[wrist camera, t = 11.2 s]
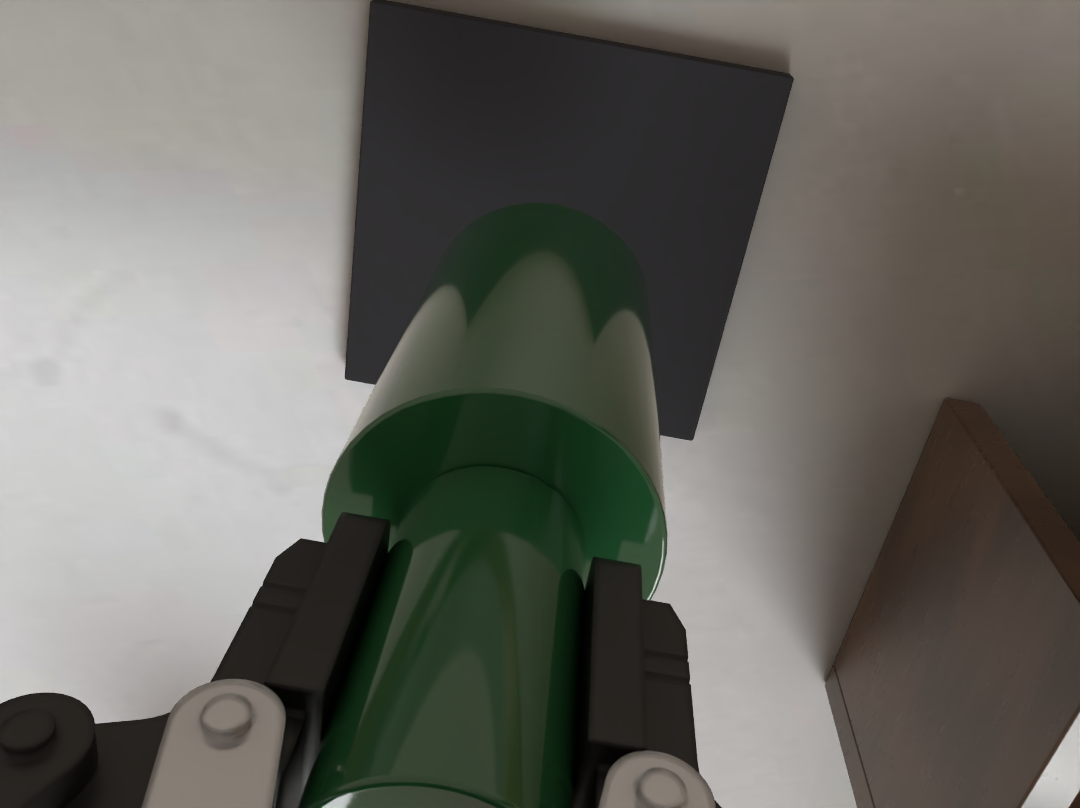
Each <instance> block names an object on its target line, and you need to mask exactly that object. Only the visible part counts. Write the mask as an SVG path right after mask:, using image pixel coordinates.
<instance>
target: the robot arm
mask: <svg viewBox="0 0 1080 808" xmlns="http://www.w3.org/2000/svg"><path fill="white" fill-rule="evenodd" d="M390 526H391V525H390V520H387V519H382V518H376V517H370V516H364V515H359V514H353V513H347V512H342V513H341V514H340V516H339V518H338V520H337V523H336V525H335V527H334V529H333V531H332V534H331V536H330V538H329V540H328V542H327V543H324V542H318V541H313V540H307V539H300V540H298V541H297V542H296V543H294V544H293V545H292V546H290V547H289V548H288V549H286V550H285V551H284V552H282V553H281V554H280V555H279V556H277V557H276V558H275V560H274V562H273V564H272V566H271V568H270V570H269V572H268V574H267V576H266V578H265V579H264V581H263V586H262V587H260V589H259V591H258V593H257V595H256V597H255V599H254V600H253V604H252V607H250V608H249V610H248V612H247V614H246V616H245V618H244V620H243V621H242V623H241V625H240V627H239V629H238V631H237V633H236V635H235V637H234V639H233V641H232V642H231V644H230V646H229V648H228V650H227V652H226V654H225V656H224V658H223V660H222V662H221V663H220V665H219V667H218V669H217V671H216V673H215V675H214V677H213V679H212V680H211V682H210V683H207V684H204V685H202V686H199V687H197V688H196V689H194V690H192V691H190V692H189V693H188V694H186V695H185V696H184V697H182V698H181V699H180V701H179V702H178V703H177V704H176V705H175V706H174V708H173V709H172V711H171V712H170V713H167V714H165V715H161V716H157V717H154V718H148V719H142V720H132V721H121V722H111V723H100V724H95V722H94V718H93V715H92V713H91V711H90V710H89V709H88V707H87V706H86V705H85V704H83V703H82V702H81V701H79V700H77V699H75V698H73V697H71V696H67V695H64V694H58V693H35V694H28V695H24V696H19V697H16V698H13V699H10V700H8V701H6V702H3V703H1V704H0V808H297V807H298V804H299V801H300V798H301V795H302V793H303V790H304V787H305V784H306V781H307V779H308V776H309V773H310V770H311V767H312V765H313V762H314V759H315V756H316V753H317V751H318V748H319V745H320V742H321V740H322V737H323V734H324V731H325V728H326V726H327V723H328V720H329V717H330V714H331V712H332V709H333V706H334V703H335V700H336V698H337V695H338V692H339V689H340V686H341V684H342V681H343V678H344V675H345V672H346V670H347V667H348V664H349V661H350V658H351V656H352V653H353V650H354V647H355V645H356V642H357V639H358V636H359V633H360V631H361V628H362V625H363V622H364V619H365V617H366V614H367V611H368V608H369V605H370V603H371V600H372V597H373V594H374V591H375V589H376V586H377V583H378V580H379V577H380V575H381V572H382V569H383V566H384V563H385V561H386V558H387V555H388V548H389V538H390ZM687 660H688V650H687V639H686V630H685V628H684V626H683V625H682V623H681V621H680V620H679V618H678V616H677V615H676V613H675V611H674V610H673V608H672V607H671V605H670V604H668V603H662V602H656V601H651V600H645V599H642V570H641V565H640V564H634V563H628V562H623V561H617V560H611V559H606V558H600V557H593V559H592V562H591V566H590V570H589V574H588V578H587V582H586V587H585V593H584V612H583V631H582V650H581V670H580V689H579V708H578V727H577V747H576V766H575V785H574V808H722V807H720V806H719V804H718V803H717V802H716V801H715V800H714V797H713V794H712V792H711V789H710V788H709V786H708V784H707V782H706V781H705V780H704V779H703V777H702V776H701V775H700V773H699V768H698V762H697V750H696V739H695V728H694V717H693V706H692V695H691V684H689V681H690V673H689V662H687Z"/></svg>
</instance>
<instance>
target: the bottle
mask: <svg viewBox="0 0 1080 808" xmlns="http://www.w3.org/2000/svg"><path fill="white" fill-rule="evenodd" d="M342 512H347V513H353V514H359V515H364V516H370V517H376V518H382V519H387V520H390V525H391V526H390V538H389V548H388V555H387V558H386V561H385V563H384V566H383V569H382V572H381V575H380V577H379V580H378V583H377V586H376V589H375V591H374V594H373V597H372V600H371V603H370V605H369V608H368V611H367V614H366V617H365V619H364V622H363V625H362V628H361V631H360V633H359V636H358V639H357V642H356V645H355V647H354V650H353V653H352V656H351V658H350V661H349V664H348V667H347V670H346V672H345V675H344V678H343V681H342V684H341V686H340V689H339V692H338V695H337V698H336V700H335V703H334V706H333V709H332V712H331V714H330V717H329V720H328V723H327V726H326V728H325V731H324V734H323V737H322V740H321V742H320V745H319V748H318V751H317V753H316V756H315V759H314V762H313V765H312V767H311V770H310V773H309V776H308V779H307V781H306V784H305V787H304V790H303V793H302V795H301V798H300V801H299V804H298V807H297V808H574V785H575V766H576V747H577V727H578V708H579V689H580V670H581V650H582V631H583V612H584V593H585V587H586V582H587V578H588V574H589V570H590V566H591V562H592V559H593V557H600V558H606V559H611V560H617V561H623V562H628V563H634V564H640V565H641V570H642V599H645V600H651V598H652V596H653V594H654V593H655V591H656V589H657V587H658V584H659V581H660V579H661V576H662V573H663V570H664V565H665V560H666V555H667V523H666V510H665V496H664V483H663V469H662V456H661V443H660V429H659V416H658V402H657V389H656V376H655V362H654V349H653V335H652V322H651V309H650V299H649V291H648V287H647V283H646V280H645V276H644V274H643V272H642V269H641V267H640V265H639V263H638V261H637V260H636V258H635V256H634V255H633V253H632V251H631V250H630V249H629V248H628V246H627V245H626V244H625V243H624V241H623V240H622V239H621V238H620V237H619V236H618V235H616V234H615V233H614V232H613V231H612V230H611V229H610V228H608V227H607V226H606V225H604V224H603V223H601V222H600V221H598V220H596V219H595V218H593V217H591V216H589V215H587V214H585V213H583V212H580V211H577V210H575V209H572V208H568V207H564V206H560V205H555V204H546V203H525V204H518V205H511V206H508V207H504V208H501V209H497V210H495V211H493V212H490V213H488V214H486V215H483V216H482V217H480V218H478V219H477V220H475V221H473V222H472V223H470V224H469V225H468V226H467V227H465V228H464V229H463V230H462V231H460V232H459V233H458V235H457V236H456V237H455V238H454V239H453V240H452V241H451V242H450V243H449V245H448V246H447V248H446V249H445V251H444V252H443V253H442V255H441V257H440V259H439V261H438V263H437V265H436V267H435V269H434V271H433V273H432V275H431V277H430V279H429V281H428V283H427V285H426V287H425V289H424V291H423V293H422V295H421V297H420V298H419V300H418V302H417V304H416V306H415V308H414V310H413V312H412V314H411V316H410V318H409V320H408V322H407V324H406V326H405V328H404V330H403V332H402V334H401V336H400V338H399V340H398V342H397V344H396V346H395V348H394V350H393V352H392V354H391V356H390V357H389V359H388V361H387V363H386V365H385V367H384V369H383V371H382V373H381V375H380V377H379V379H378V381H377V383H376V385H375V387H374V389H373V391H372V393H371V395H370V397H369V399H368V401H367V403H366V405H365V407H364V409H363V411H362V413H361V415H360V417H359V418H358V420H357V422H356V424H355V426H354V428H353V430H352V432H351V434H350V436H349V438H348V440H347V442H346V444H345V446H344V448H343V450H342V452H341V454H340V456H339V458H338V460H337V462H336V464H335V466H334V468H333V470H332V472H331V474H330V476H329V479H328V483H327V486H326V489H325V492H324V499H323V506H322V532H323V537H324V543H327V542H328V540H329V538H330V536H331V534H332V531H333V529H334V527H335V525H336V523H337V520H338V518H339V516H340V514H341V513H342Z"/></svg>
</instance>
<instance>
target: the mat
mask: <svg viewBox="0 0 1080 808" xmlns="http://www.w3.org/2000/svg"><path fill="white" fill-rule="evenodd" d="M793 80H794V79H793V77H792V76H791V75H790V74H787V73H782V72H776V71H771V70H765V69H760V68H754V67H749V66H743V65H738V64H732V63H727V62H721V61H716V60H710V59H705V58H699V57H694V56H688V55H683V54H677V53H672V52H666V51H661V50H655V49H650V48H644V47H639V46H633V45H628V44H622V43H617V42H611V41H606V40H600V39H595V38H589V37H584V36H578V35H573V34H567V33H562V32H556V31H551V30H545V29H540V28H534V27H529V26H523V25H518V24H512V23H507V22H501V21H496V20H490V19H485V18H479V17H474V16H468V15H463V14H457V13H452V12H446V11H441V10H435V9H430V8H424V7H419V6H413V5H408V4H402V3H397V2H391V1H386V0H372V1H371V3H370V16H369V31H368V45H367V60H366V75H365V89H364V104H363V119H362V133H361V148H360V163H359V177H358V192H357V206H356V221H355V236H354V250H353V265H352V280H351V294H350V309H349V324H348V338H347V353H346V367H345V379H346V380H352V381H358V382H363V383H369V384H375V385H376V383H377V381H378V379H379V377H380V375H381V373H382V371H383V369H384V367H385V365H386V363H387V361H388V359H389V357H390V356H391V354H392V352H393V350H394V348H395V346H396V344H397V342H398V340H399V338H400V336H401V334H402V332H403V330H404V328H405V326H406V324H407V322H408V320H409V318H410V316H411V314H412V312H413V310H414V308H415V306H416V304H417V302H418V300H419V298H420V297H421V295H422V293H423V291H424V289H425V287H426V285H427V283H428V281H429V279H430V277H431V275H432V273H433V271H434V269H435V267H436V265H437V263H438V261H439V259H440V257H441V255H442V253H443V252H444V251H445V249H446V248H447V246H448V245H449V243H450V242H451V241H452V240H453V239H454V238H455V237H456V236H457V235H458V233H459V232H460V231H462V230H463V229H464V228H465V227H467V226H468V225H469V224H470V223H472V222H473V221H475V220H477V219H478V218H480V217H482V216H483V215H486V214H488V213H490V212H493V211H495V210H497V209H501V208H504V207H508V206H511V205H518V204H525V203H546V204H555V205H560V206H564V207H568V208H572V209H575V210H577V211H580V212H583V213H585V214H587V215H589V216H591V217H593V218H595V219H596V220H598V221H600V222H601V223H603V224H604V225H606V226H607V227H608V228H610V229H611V230H612V231H613V232H614V233H615V234H616V235H618V236H619V237H620V238H621V239H622V240H623V241H624V243H625V244H626V245H627V246H628V248H629V249H630V250H631V251H632V253H633V255H634V256H635V258H636V260H637V261H638V263H639V265H640V267H641V269H642V272H643V274H644V276H645V280H646V283H647V287H648V291H649V299H650V309H651V322H652V335H653V349H654V362H655V376H656V389H657V402H658V416H659V429H660V435H663V436H668V437H674V438H680V439H685V440H693V438H694V435H695V431H696V427H697V424H698V420H699V417H700V413H701V409H702V406H703V402H704V399H705V395H706V392H707V388H708V384H709V381H710V377H711V374H712V370H713V366H714V363H715V359H716V356H717V352H718V349H719V345H720V341H721V338H722V334H723V331H724V327H725V323H726V320H727V316H728V313H729V309H730V306H731V302H732V298H733V295H734V291H735V288H736V284H737V280H738V277H739V273H740V270H741V266H742V263H743V259H744V255H745V252H746V248H747V245H748V241H749V238H750V234H751V230H752V227H753V223H754V220H755V216H756V212H757V209H758V205H759V202H760V198H761V195H762V191H763V187H764V184H765V180H766V177H767V173H768V169H769V166H770V162H771V159H772V155H773V152H774V148H775V144H776V141H777V137H778V134H779V130H780V126H781V123H782V119H783V116H784V112H785V109H786V105H787V101H788V98H789V94H790V91H791V87H792V83H793Z"/></svg>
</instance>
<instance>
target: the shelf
mask: <svg viewBox="0 0 1080 808" xmlns="http://www.w3.org/2000/svg"><path fill="white" fill-rule="evenodd" d="M834 664H835V665H833V667H832V669H831V672H830V674H829V677H828V679H827V681H826V684H825V688H826V692H827V695H828V699H829V703H830V707H831V710H832V714H833V718H834V722H835V726H836V729H837V733H838V737H839V741H840V744H841V748H842V752H843V756H844V759H845V763H846V767H847V771H848V774H849V778H850V782H851V786H852V790H853V793H854V797H855V801H856V805H857V808H1080V542H1079V541H1078V540H1077V538H1076V537H1075V535H1074V534H1073V533H1072V531H1071V530H1070V529H1069V527H1068V526H1067V524H1066V523H1065V522H1064V520H1063V519H1062V517H1061V516H1060V515H1059V513H1058V512H1057V511H1056V509H1055V508H1054V506H1053V505H1052V504H1051V502H1050V501H1049V500H1048V498H1047V497H1046V495H1045V494H1044V493H1043V491H1042V490H1041V488H1040V487H1039V486H1038V484H1037V483H1036V482H1035V480H1034V479H1033V477H1032V476H1031V475H1030V473H1029V472H1028V471H1027V469H1026V468H1025V466H1024V465H1023V464H1022V462H1021V461H1020V459H1019V458H1018V457H1017V455H1016V454H1015V453H1014V451H1013V450H1012V448H1011V447H1010V446H1009V444H1008V443H1007V442H1006V440H1005V439H1004V437H1003V436H1002V435H1001V433H1000V432H999V431H998V429H997V428H996V426H995V425H994V424H993V422H992V421H991V419H990V418H989V417H988V415H987V414H986V413H985V411H984V410H983V408H982V407H981V406H980V405H979V404H976V403H970V402H965V401H959V400H953V399H948V398H947V399H945V400H944V403H943V405H942V407H941V410H940V412H939V415H938V417H937V419H936V422H935V424H934V426H933V429H932V431H931V434H930V436H929V438H928V441H927V443H926V446H925V448H924V450H923V453H922V455H921V457H920V460H919V462H918V465H917V467H916V469H915V472H914V474H913V477H912V479H911V481H910V484H909V486H908V488H907V491H906V493H905V496H904V498H903V500H902V503H901V505H900V507H899V510H898V512H897V515H896V517H895V519H894V522H893V524H892V527H891V529H890V531H889V534H888V536H887V538H886V541H885V543H884V546H883V548H882V550H881V553H880V555H879V558H878V560H877V562H876V565H875V567H874V569H873V572H872V574H871V577H870V579H869V581H868V584H867V586H866V589H865V591H864V593H863V596H862V598H861V600H860V603H859V605H858V608H857V610H856V612H855V615H854V617H853V619H852V622H851V624H850V627H849V629H848V631H847V634H846V636H845V639H844V641H843V643H842V646H841V648H840V650H839V653H838V655H837V658H836V660H835V663H834Z"/></svg>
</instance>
